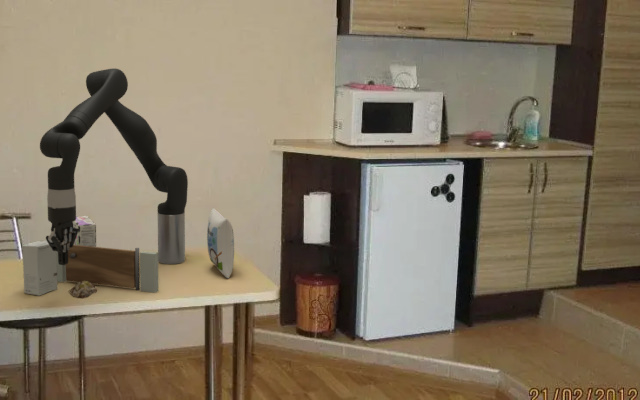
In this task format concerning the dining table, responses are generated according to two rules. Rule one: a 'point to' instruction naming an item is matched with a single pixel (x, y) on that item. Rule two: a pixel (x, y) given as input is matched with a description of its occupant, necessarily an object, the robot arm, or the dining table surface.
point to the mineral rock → (83, 289)
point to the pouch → (220, 242)
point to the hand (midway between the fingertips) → (63, 264)
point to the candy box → (85, 231)
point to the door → (101, 266)
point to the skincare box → (39, 268)
